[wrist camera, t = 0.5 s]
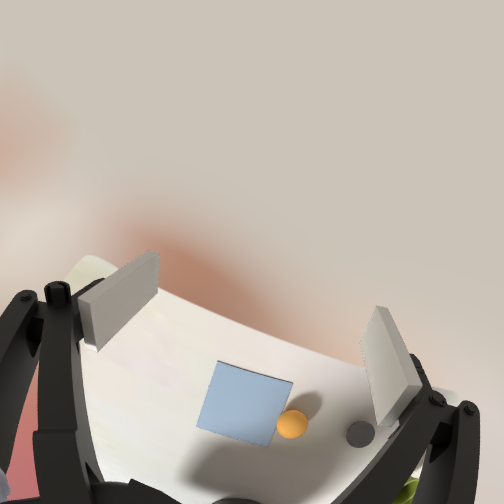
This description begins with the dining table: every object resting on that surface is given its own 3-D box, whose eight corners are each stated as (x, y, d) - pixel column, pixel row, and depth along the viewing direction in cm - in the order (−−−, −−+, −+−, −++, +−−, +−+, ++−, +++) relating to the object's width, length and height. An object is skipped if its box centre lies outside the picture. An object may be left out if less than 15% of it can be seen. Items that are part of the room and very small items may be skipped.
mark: (292, 383, 46) (292, 383, 46) (267, 446, 43) (267, 446, 43) (217, 361, 47) (217, 361, 46) (196, 426, 44) (195, 426, 43)
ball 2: (369, 435, 43) (380, 444, 38) (344, 445, 43) (353, 456, 37) (366, 413, 44) (377, 422, 39) (340, 423, 44) (349, 434, 38)
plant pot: (413, 475, 40) (430, 490, 31) (381, 499, 38) (395, 517, 30) (400, 457, 41) (419, 472, 33) (366, 483, 40) (381, 501, 32)
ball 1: (307, 426, 44) (313, 437, 38) (278, 434, 43) (282, 446, 38) (301, 402, 45) (307, 411, 40) (272, 410, 45) (274, 420, 39)
